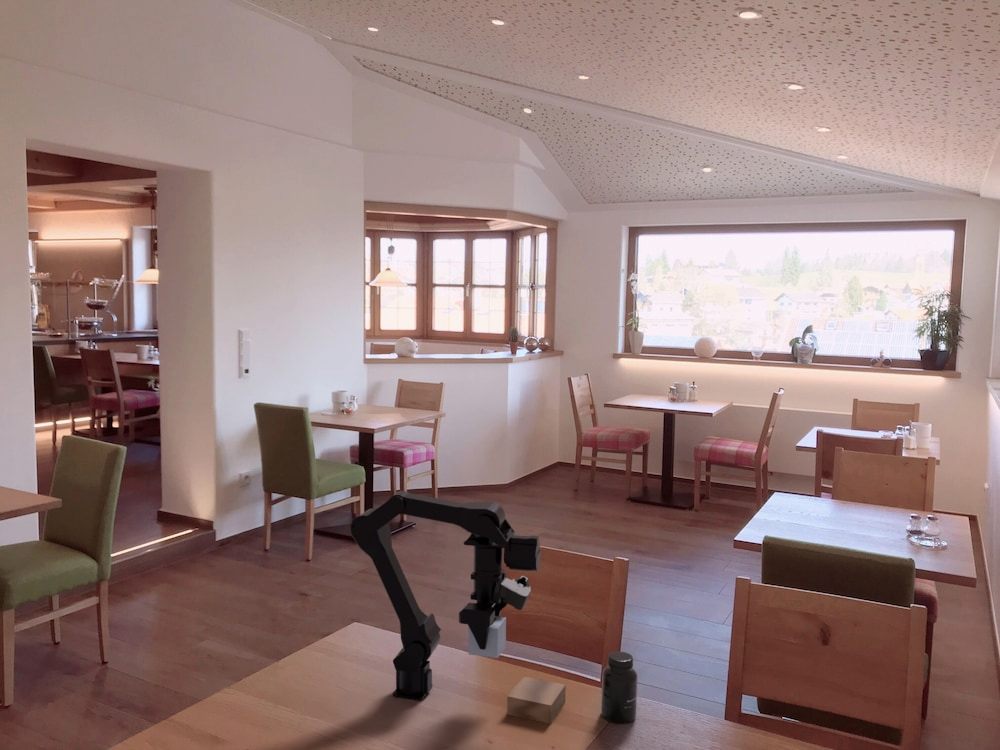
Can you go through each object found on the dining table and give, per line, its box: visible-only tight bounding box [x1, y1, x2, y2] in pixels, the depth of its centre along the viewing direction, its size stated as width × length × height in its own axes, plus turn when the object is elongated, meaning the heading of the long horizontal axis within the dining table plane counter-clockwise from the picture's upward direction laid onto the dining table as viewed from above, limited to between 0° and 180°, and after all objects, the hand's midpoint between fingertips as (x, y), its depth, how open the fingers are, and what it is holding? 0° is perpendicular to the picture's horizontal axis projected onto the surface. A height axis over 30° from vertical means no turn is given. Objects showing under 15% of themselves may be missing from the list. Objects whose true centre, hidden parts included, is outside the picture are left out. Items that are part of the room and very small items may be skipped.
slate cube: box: [468, 616, 507, 659], centre depth 161 cm, size 6×6×6 cm
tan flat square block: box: [506, 676, 567, 725], centre depth 159 cm, size 9×9×4 cm
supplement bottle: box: [600, 651, 639, 724], centre depth 156 cm, size 7×7×12 cm
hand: (487, 642), depth 161 cm, fingers closed on slate cube, 6 cm apart
